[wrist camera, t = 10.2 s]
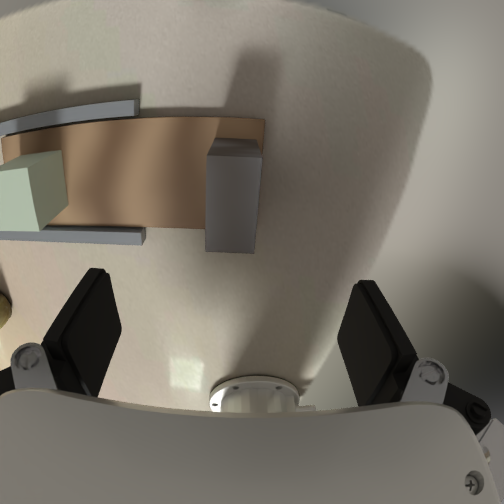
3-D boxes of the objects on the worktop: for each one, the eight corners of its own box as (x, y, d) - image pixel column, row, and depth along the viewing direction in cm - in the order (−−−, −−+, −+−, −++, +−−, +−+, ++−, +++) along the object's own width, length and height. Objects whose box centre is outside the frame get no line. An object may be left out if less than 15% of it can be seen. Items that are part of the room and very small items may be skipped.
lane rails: (139, 99, 19) (133, 99, 18) (145, 238, 25) (142, 245, 24) (-57, 142, 17) (-64, 145, 16) (-38, 233, 23) (-44, 238, 22)
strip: (264, 119, 21) (274, 131, 15) (255, 228, 25) (259, 273, 20) (4, 136, 19) (-42, 157, 13) (19, 222, 24) (-18, 256, 18)
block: (61, 149, 20) (27, 167, 16) (68, 205, 23) (39, 231, 18) (20, 155, 20) (-14, 173, 15) (28, 206, 22) (-2, 230, 18)
